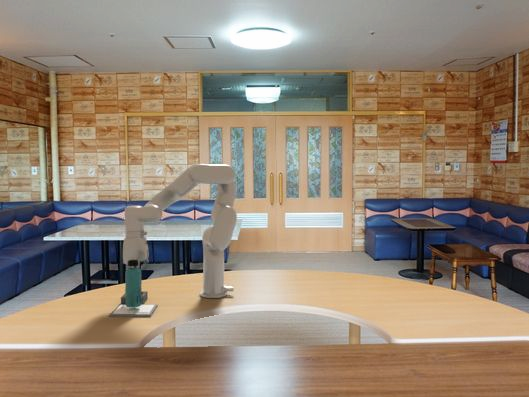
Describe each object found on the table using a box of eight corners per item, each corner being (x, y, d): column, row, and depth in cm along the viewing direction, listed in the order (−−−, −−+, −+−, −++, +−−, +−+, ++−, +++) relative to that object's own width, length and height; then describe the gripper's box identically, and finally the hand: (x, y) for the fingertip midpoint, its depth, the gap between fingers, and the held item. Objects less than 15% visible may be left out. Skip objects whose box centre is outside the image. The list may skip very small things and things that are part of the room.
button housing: (147, 299, 192) (147, 291, 191) (142, 305, 183) (142, 297, 182) (126, 299, 191) (126, 291, 191) (121, 305, 182) (120, 297, 182)
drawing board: (157, 306, 182) (157, 303, 182) (150, 316, 169) (150, 314, 169) (119, 306, 181) (119, 303, 181) (109, 316, 168) (109, 314, 168)
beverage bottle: (137, 312, 171) (137, 262, 170) (121, 310, 173) (121, 261, 171) (144, 307, 178) (144, 258, 176) (129, 305, 179) (129, 258, 178)
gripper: (154, 232, 189) (155, 274, 191) (119, 233, 188) (121, 274, 190) (150, 235, 182) (152, 278, 183) (114, 236, 181) (116, 279, 182)
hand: (136, 276), depth 186 cm, fingers closed
